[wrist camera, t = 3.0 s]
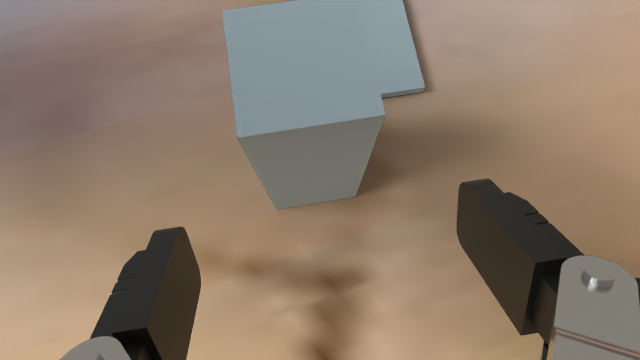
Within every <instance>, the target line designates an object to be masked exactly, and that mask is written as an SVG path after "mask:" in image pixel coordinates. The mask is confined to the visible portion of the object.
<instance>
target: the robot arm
mask: <svg viewBox="0 0 640 360" xmlns="http://www.w3.org/2000/svg"><path fill="white" fill-rule="evenodd" d="M457 235H458V239H459V241H460V244H461V246H462V248H463V249H464V251H465V252H466V254H467V255H468V257H469V258H470V260H471V261H472V263H473V264H474V266H475V267H476V269H477V270H478V272H479V273H480V275H481V276H482V278H483V279H484V281H485V282H486V284H487V285H488V287H489V288H490V290H491V291H492V293H493V294H494V296H495V297H496V299H497V300H498V302H499V303H500V305H501V306H502V308H503V309H504V311H505V312H506V314H507V315H508V317H509V318H510V320H511V321H512V323H513V324H514V326H515V327H516V329H517V330H518V332H519V333H520V335H527V334H533V333H539V334H540V336H541V337H542V338H543V340H544V341H543V345H542V349H541V356H540V360H640V278H634V277H633V276H632V274H631V273H630V272H628V271H627V270H626V269H625V268H623V267H622V266H620V265H618V264H616V263H614V262H612V261H610V260H607V259H604V258H600V257H595V256H585V255H583V254H582V253H581V252H580V251H579V250H578V249H577V248H576V247H575V246H574V245H573V244H572V243H571V242H570V241H569V240H568V239H567V238H566V237H565V236H563V235H562V234H561V233H560V232H559V231H558V230H557V229H556V228H555V227H554V226H553V225H552V224H551V223H550V224H549V223H548V220H547V219H546V218H545V217H543V216H542V215H541V214H539V212H538V211H537V210H536V209H535V208H534V207H533V206H532V205H531V204H530V203H529V202H528V201H526V200H524V199H522V198H520V197H518V196H516V195H514V194H512V193H510V192H508V193H503V192H502V191H501V190H500V189H499V188H498V187H497V186H496V185H495V184H494V183H493V182H492V181H491V180H490V179H481V180H475V181H468V182H463V183H461V184H460V187H459V196H458V211H457ZM117 280H118V282H117V283H116V284H115V286H114V288H113V290H112V295H110V297H109V299H108V301H107V303H106V305H105V307H104V309H103V312H102V314H101V316H100V318H99V320H98V322H97V325H96V327H95V329H94V331H93V333H92V335H91V337H90V339H89V340H87V341H85V342H82V343H81V344H79V345H77V346H76V347H74V348H73V349H71V350H70V351H69V352H68V353H66V354H65V355H64V356H63V357H62V358H61V359H60V360H186V357H187V353H188V348H189V343H190V338H191V333H192V328H193V323H194V318H195V313H196V308H197V304H198V299H199V294H200V288H201V277H200V271H199V267H198V264H197V261H196V258H195V255H194V252H193V250H192V247H191V244H190V241H189V238H188V235H187V233H186V230H185V229H184V228H183V227H175V228H169V229H163V230H156V231H154V232H153V234H152V237H151V239H150V241H149V244H148V246H147V249H146V250H143V251H137V253H136V254H135V255H134V256H133V257H132V258H131V259H130V260H129V261H128V262H127V263H126V264H125V265H124V267H123V269H122V271H121V273H120V275H119V277H118V279H117Z"/></svg>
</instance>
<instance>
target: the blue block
mask: <svg viewBox="0 0 640 360" xmlns="http://www.w3.org/2000/svg"><path fill="white" fill-rule="evenodd" d="M222 14H223V22H224V31H225V39H226V48H227V56H228V65H229V73H230V82H231V90H232V99H233V107H234V115H235V124H236V132H237V138H238V140H239V142H240V144H241V146H242V148H243V149H244V151H245V153H246V155H247V157H248V158H249V160H250V162H251V164H252V166H253V168H254V169H255V171H256V173H257V175H258V177H259V179H260V180H261V182H262V184H263V186H264V188H265V189H266V191H267V193H268V195H269V197H270V199H271V200H272V202H273V204H274V206H275V208H276V209H277V210H278V209H284V208H290V207H296V206H302V205H309V204H315V203H321V202H327V201H333V200H339V199H345V198H352V197H356V194H357V191H358V188H359V186H360V183H361V180H362V177H363V175H364V172H365V169H366V167H367V164H368V161H369V158H370V156H371V153H372V150H373V147H374V145H375V142H376V139H377V136H378V134H379V131H380V128H381V125H382V123H383V120H384V117H385V111H384V107H383V102H382V98H381V93H380V89H379V85H378V80H377V76H376V71H375V67H374V63H373V58H372V54H371V49H370V45H369V40H368V36H367V32H366V27H365V23H364V18H363V14H362V10H361V5H360V1H359V0H294V1H287V2H280V3H273V4H266V5H259V6H252V7H245V8H237V9H230V10H223V11H222Z"/></svg>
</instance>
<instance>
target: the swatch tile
mask: <svg viewBox="0 0 640 360" xmlns="http://www.w3.org/2000/svg"><path fill="white" fill-rule="evenodd" d="M359 1H360V5H361V10H362V14H363V18H364V23H365V27H366V32H367V36H368V40H369V45H370V49H371V54H372V58H373V63H374V67H375V71H376V76H377V80H378V85H379V89H380V93H381V98H387V97H393V96H400V95H406V94H413V93H419V92H423V90H424V88H425V85H424V81H423V77H422V73H421V69H420V66H419V62H418V58H417V54H416V50H415V46H414V43H413V39H412V35H411V31H410V27H409V23H408V20H407V16H406V12H405V8H404V4H403V0H359Z"/></svg>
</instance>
